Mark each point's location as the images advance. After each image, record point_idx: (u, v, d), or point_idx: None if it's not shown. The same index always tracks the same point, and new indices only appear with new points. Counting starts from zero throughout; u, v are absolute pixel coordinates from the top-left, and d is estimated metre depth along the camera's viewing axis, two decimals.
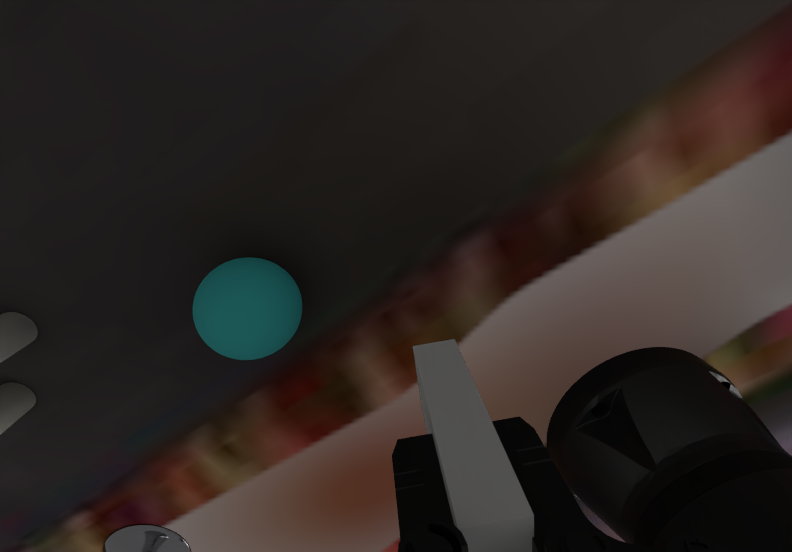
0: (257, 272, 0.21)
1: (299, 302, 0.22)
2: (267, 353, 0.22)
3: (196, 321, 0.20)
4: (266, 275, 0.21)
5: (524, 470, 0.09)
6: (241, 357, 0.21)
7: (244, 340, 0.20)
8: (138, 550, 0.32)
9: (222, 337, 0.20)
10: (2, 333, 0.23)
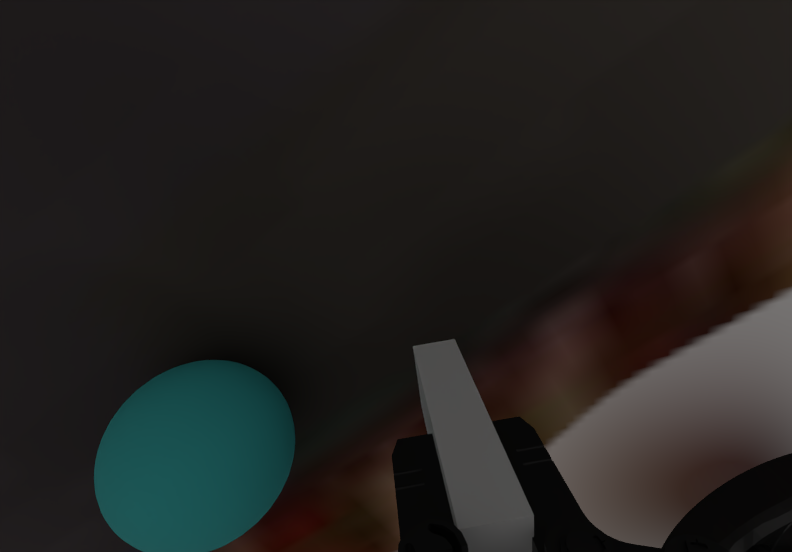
0: (208, 405, 0.11)
1: (289, 439, 0.13)
2: None
3: None
4: (225, 408, 0.11)
5: (524, 470, 0.09)
6: None
7: (184, 542, 0.11)
8: None
9: (141, 540, 0.10)
10: None
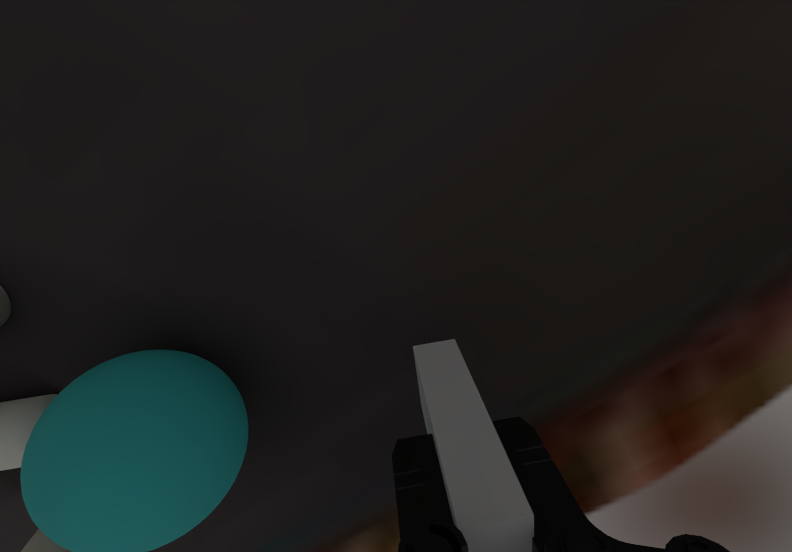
0: None
1: None
2: None
3: (230, 420, 0.12)
4: None
5: (524, 470, 0.09)
6: None
7: None
8: None
9: (243, 402, 0.14)
10: None
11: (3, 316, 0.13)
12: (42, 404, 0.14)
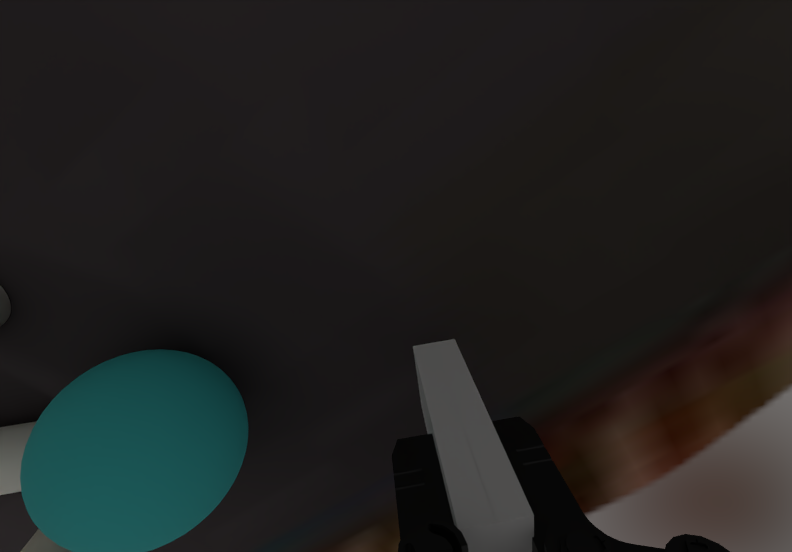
0: None
1: None
2: None
3: (230, 420, 0.12)
4: None
5: (524, 470, 0.09)
6: None
7: None
8: None
9: (243, 402, 0.14)
10: None
11: (3, 316, 0.13)
12: None
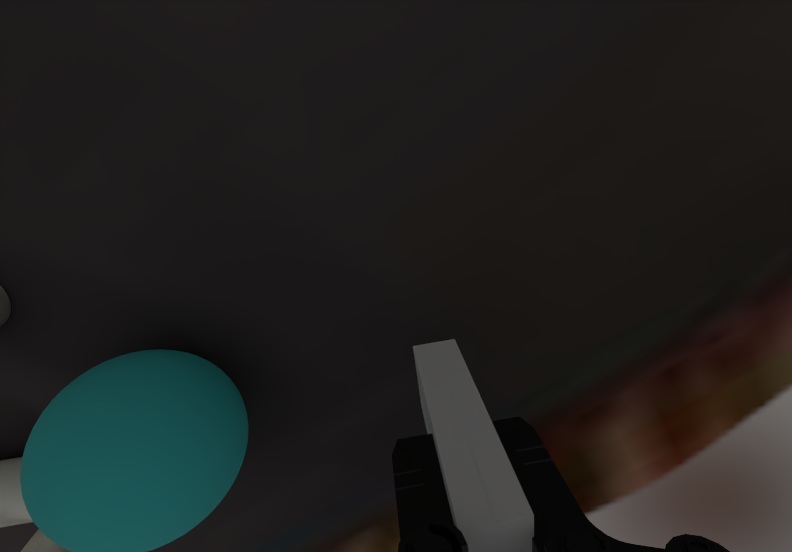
0: None
1: None
2: None
3: (230, 420, 0.12)
4: None
5: (524, 470, 0.09)
6: None
7: None
8: None
9: (243, 402, 0.14)
10: None
11: (3, 316, 0.13)
12: None
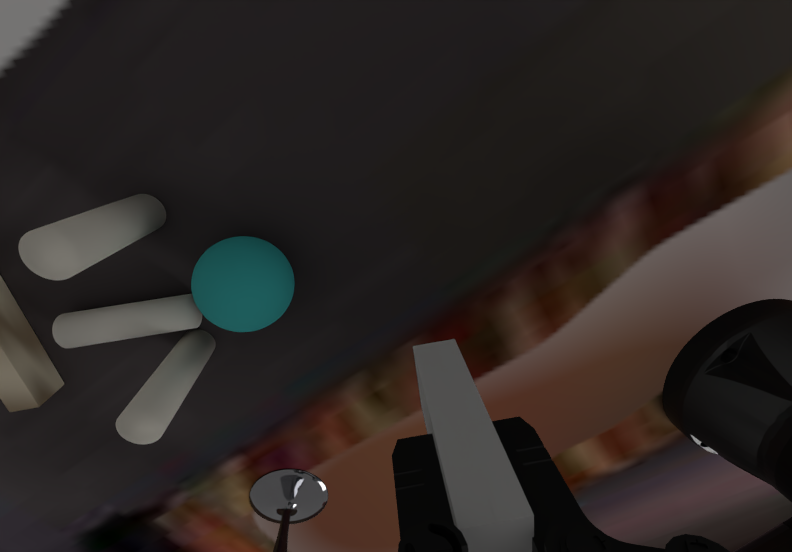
0: None
1: None
2: None
3: (288, 269, 0.24)
4: None
5: (524, 470, 0.09)
6: None
7: None
8: (285, 493, 0.34)
9: None
10: (167, 332, 0.26)
11: (163, 221, 0.25)
12: (187, 316, 0.25)
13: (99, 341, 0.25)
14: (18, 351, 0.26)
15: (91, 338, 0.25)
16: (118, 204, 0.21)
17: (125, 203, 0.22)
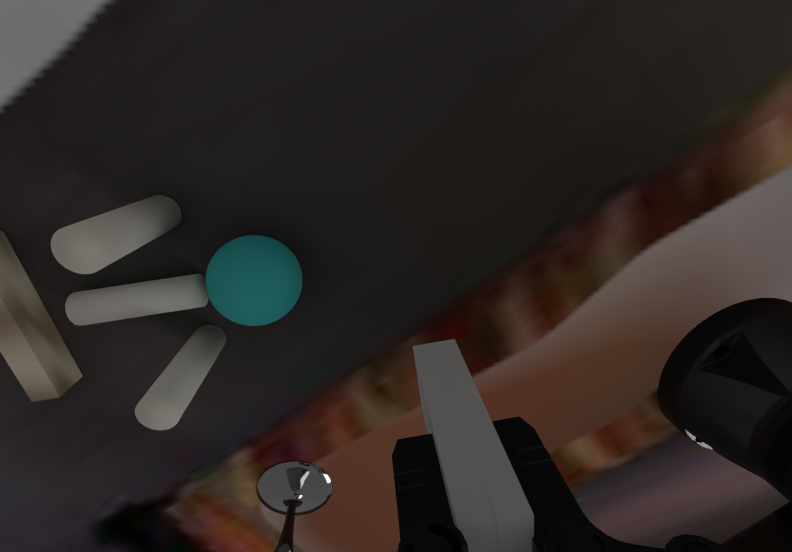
0: None
1: None
2: None
3: (296, 266, 0.25)
4: None
5: (524, 470, 0.09)
6: None
7: None
8: (291, 484, 0.35)
9: None
10: (164, 302, 0.26)
11: (179, 221, 0.26)
12: (195, 280, 0.27)
13: (101, 302, 0.26)
14: (41, 343, 0.27)
15: (98, 296, 0.26)
16: (138, 204, 0.23)
17: (144, 203, 0.23)
